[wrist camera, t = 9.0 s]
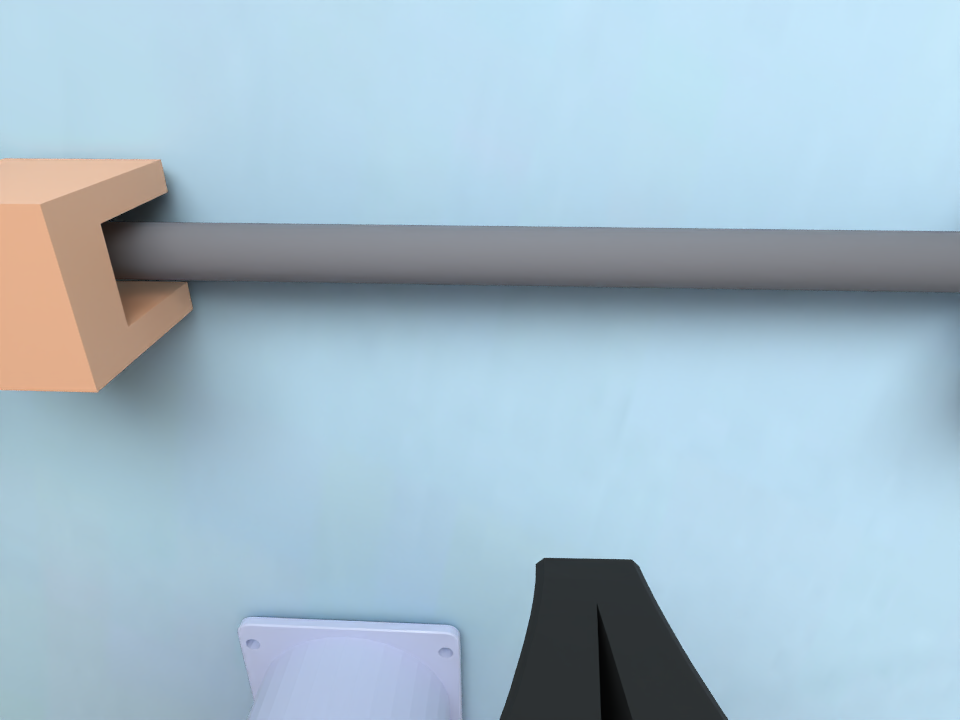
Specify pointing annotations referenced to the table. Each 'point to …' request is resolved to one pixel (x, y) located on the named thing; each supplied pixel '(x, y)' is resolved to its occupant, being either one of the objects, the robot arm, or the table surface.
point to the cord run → (538, 256)
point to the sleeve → (74, 274)
